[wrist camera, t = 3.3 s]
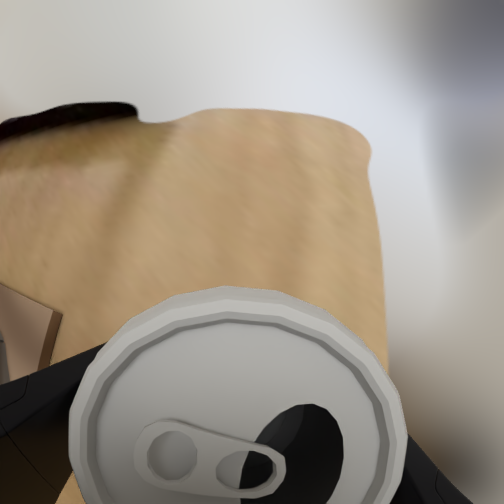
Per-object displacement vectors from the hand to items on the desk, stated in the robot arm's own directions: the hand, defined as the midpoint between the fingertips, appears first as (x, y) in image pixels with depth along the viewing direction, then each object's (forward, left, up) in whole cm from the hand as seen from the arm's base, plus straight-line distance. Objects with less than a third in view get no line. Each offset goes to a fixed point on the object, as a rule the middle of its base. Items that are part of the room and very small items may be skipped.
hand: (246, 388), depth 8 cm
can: (-1, 0, -8) cm, 8 cm away
